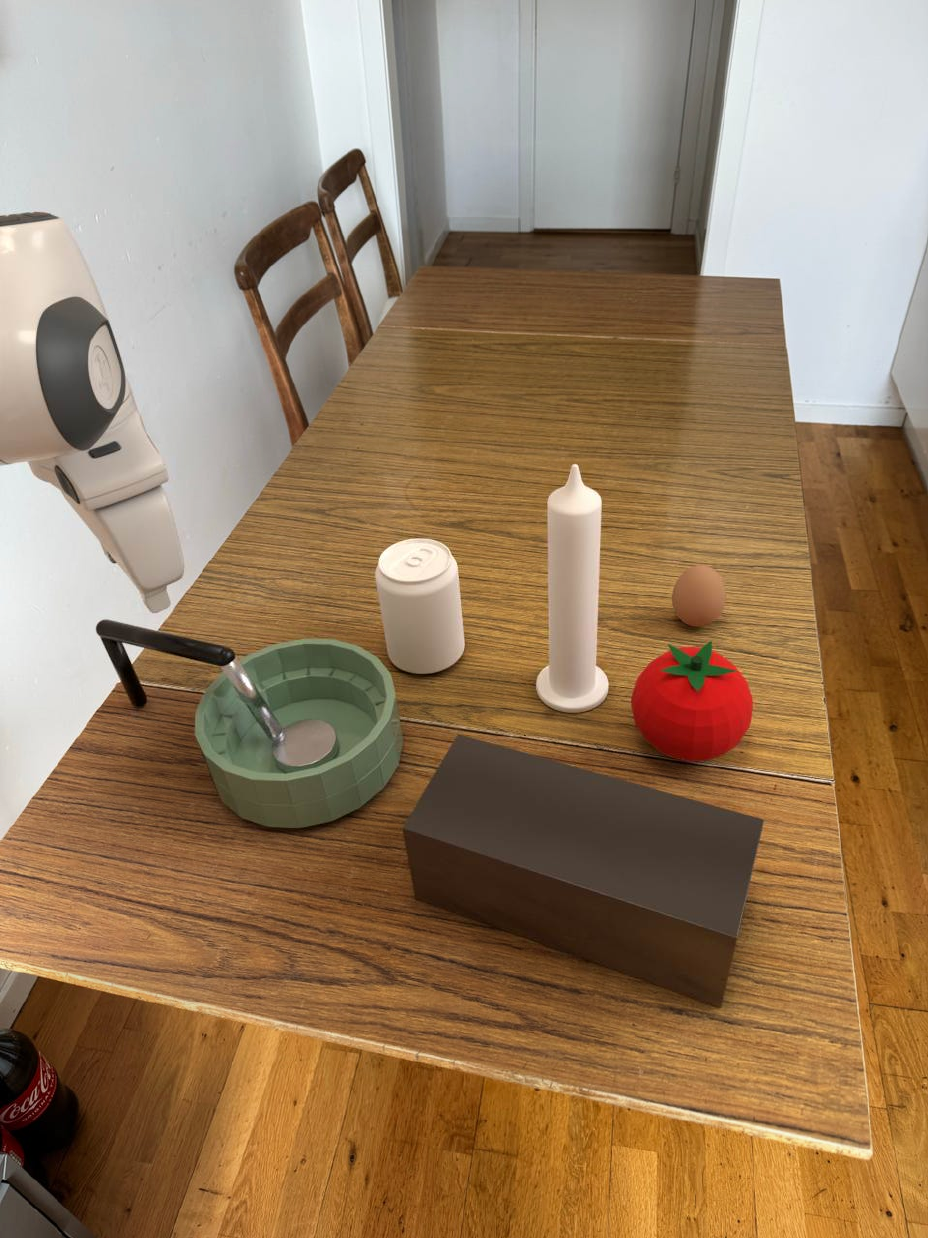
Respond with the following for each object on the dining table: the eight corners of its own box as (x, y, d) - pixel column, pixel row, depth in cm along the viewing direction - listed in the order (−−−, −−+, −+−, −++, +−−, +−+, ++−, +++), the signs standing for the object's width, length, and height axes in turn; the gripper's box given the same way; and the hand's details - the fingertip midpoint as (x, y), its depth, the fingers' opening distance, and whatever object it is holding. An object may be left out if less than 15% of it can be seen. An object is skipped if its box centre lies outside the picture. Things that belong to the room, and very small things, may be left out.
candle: (530, 668, 90) (524, 448, 75) (599, 660, 91) (607, 439, 75) (543, 718, 85) (539, 492, 69) (616, 708, 85) (628, 481, 69)
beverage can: (372, 661, 93) (356, 568, 85) (419, 618, 98) (407, 527, 90) (435, 688, 89) (423, 594, 82) (480, 643, 94) (473, 549, 86)
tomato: (741, 704, 85) (756, 623, 78) (750, 789, 77) (766, 707, 70) (630, 696, 86) (635, 616, 80) (627, 779, 79) (632, 698, 72)
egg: (721, 641, 92) (729, 587, 87) (667, 635, 93) (673, 581, 89) (722, 608, 96) (730, 555, 91) (671, 603, 97) (676, 550, 93)
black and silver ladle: (350, 735, 83) (326, 647, 77) (317, 782, 79) (288, 692, 73) (153, 684, 93) (116, 601, 86) (114, 723, 89) (72, 639, 82)
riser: (721, 1008, 62) (737, 938, 56) (414, 898, 71) (401, 828, 65) (747, 892, 69) (764, 819, 63) (465, 805, 78) (458, 733, 72)
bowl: (343, 859, 74) (330, 805, 70) (175, 799, 80) (152, 746, 76) (434, 716, 86) (427, 662, 82) (281, 674, 92) (267, 622, 88)
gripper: (5, 406, 73) (64, 544, 82) (86, 502, 60) (146, 655, 69) (80, 382, 76) (129, 519, 85) (173, 469, 63) (220, 621, 72)
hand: (137, 581), depth 77 cm, fingers open, 8 cm apart
